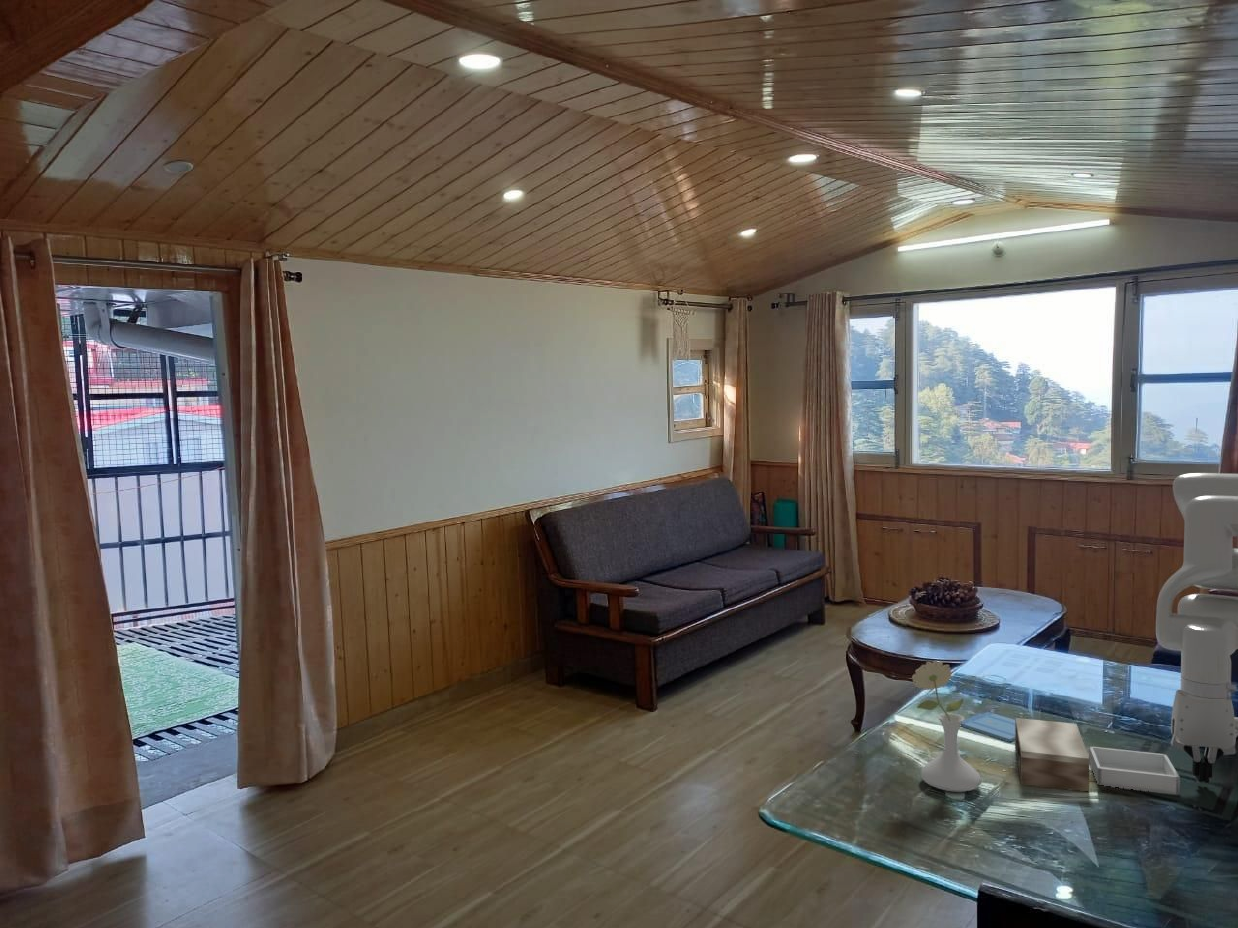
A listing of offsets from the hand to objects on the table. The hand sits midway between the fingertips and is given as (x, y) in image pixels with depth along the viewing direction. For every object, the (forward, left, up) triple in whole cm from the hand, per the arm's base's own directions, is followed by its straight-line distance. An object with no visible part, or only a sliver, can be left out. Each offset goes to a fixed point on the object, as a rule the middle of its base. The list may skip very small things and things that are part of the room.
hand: (1202, 779), depth 173 cm
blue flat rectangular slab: (+36, -22, -2) cm, 42 cm away
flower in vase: (+47, +15, -2) cm, 49 cm away
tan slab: (+27, 0, -1) cm, 27 cm away
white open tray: (+12, 0, -1) cm, 12 cm away
